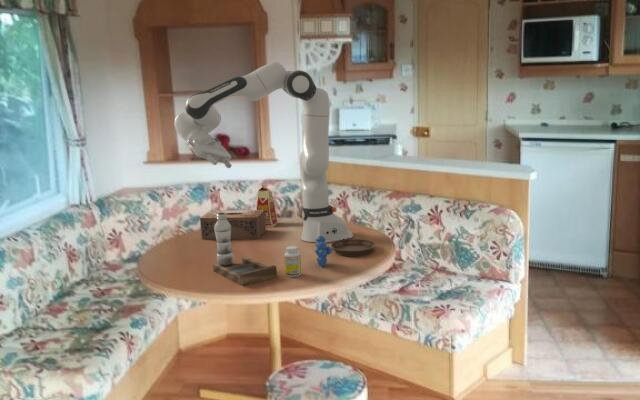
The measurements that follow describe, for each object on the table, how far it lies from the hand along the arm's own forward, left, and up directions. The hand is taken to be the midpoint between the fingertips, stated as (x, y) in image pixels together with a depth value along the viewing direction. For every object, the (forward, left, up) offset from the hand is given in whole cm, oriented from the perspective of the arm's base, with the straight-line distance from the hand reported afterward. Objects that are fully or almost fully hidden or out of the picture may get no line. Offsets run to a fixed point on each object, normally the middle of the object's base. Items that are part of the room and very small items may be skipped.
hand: (222, 165), depth 245 cm
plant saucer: (-47, +16, -37) cm, 62 cm away
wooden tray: (-2, +27, -36) cm, 45 cm away
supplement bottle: (-18, +35, -37) cm, 54 cm away
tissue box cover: (-6, -31, -37) cm, 49 cm away
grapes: (-31, +30, -37) cm, 57 cm away
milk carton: (-23, -43, -37) cm, 61 cm away
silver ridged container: (+3, +13, -37) cm, 39 cm away
